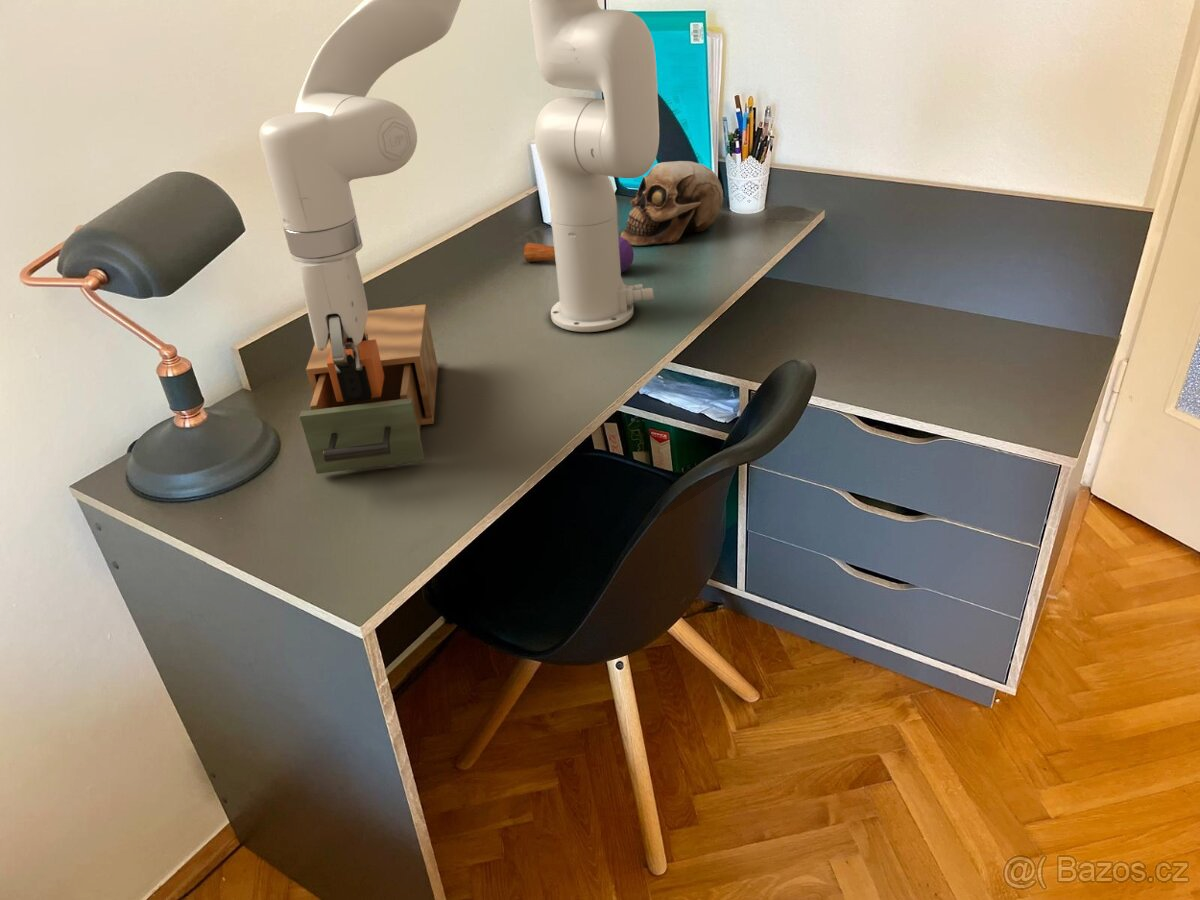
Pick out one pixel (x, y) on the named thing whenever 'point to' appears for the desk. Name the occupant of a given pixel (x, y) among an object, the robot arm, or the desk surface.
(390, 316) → the cabinet
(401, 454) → the drawer
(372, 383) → the block
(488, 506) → the desk surface
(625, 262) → the kendama
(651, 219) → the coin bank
